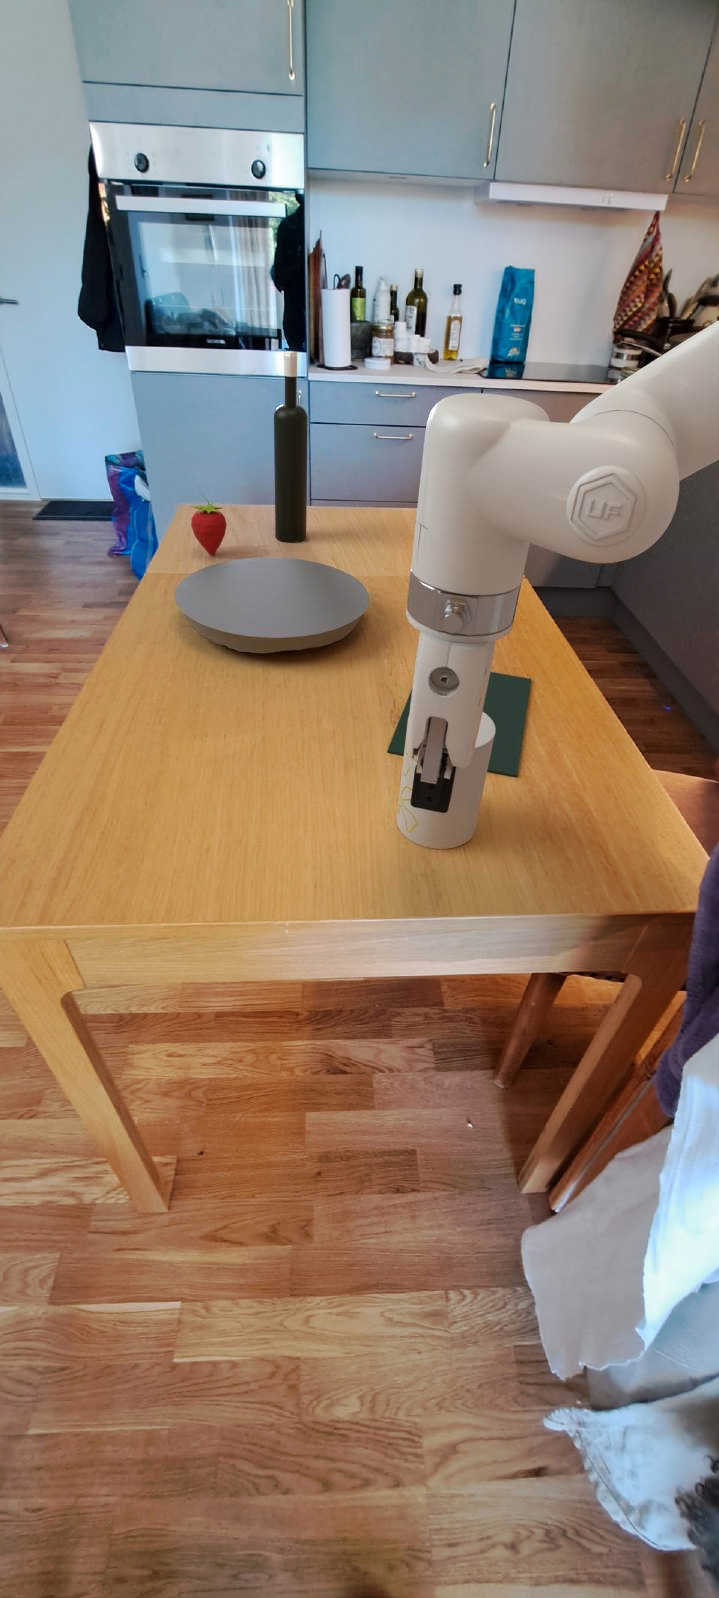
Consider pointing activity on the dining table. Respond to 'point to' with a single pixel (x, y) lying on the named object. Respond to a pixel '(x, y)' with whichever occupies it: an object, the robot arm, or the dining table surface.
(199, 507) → the strawberry
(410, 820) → the cup
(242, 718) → the dining table surface
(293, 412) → the wine bottle
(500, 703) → the mat
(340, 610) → the flat disc
